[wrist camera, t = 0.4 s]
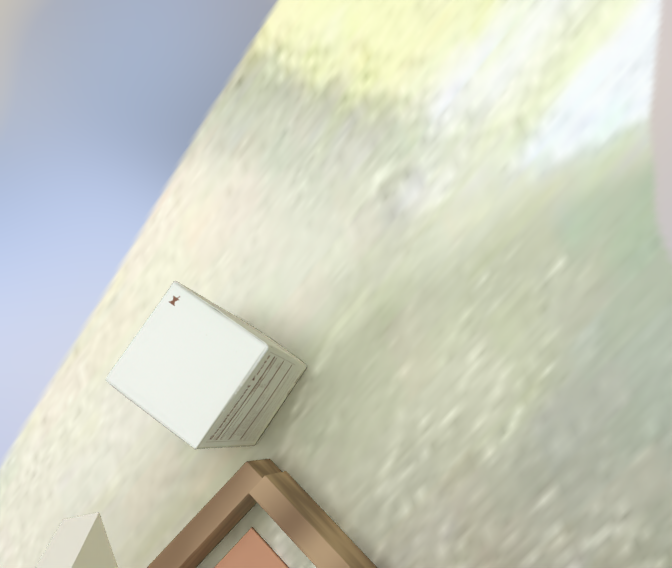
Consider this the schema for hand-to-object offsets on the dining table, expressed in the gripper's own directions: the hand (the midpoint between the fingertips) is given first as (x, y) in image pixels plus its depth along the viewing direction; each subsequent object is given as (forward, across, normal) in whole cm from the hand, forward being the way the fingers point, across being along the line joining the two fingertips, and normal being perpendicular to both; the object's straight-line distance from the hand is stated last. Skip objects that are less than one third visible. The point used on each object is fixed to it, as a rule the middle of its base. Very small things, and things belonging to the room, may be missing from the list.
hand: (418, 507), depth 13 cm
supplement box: (+34, +9, +11) cm, 37 cm away
